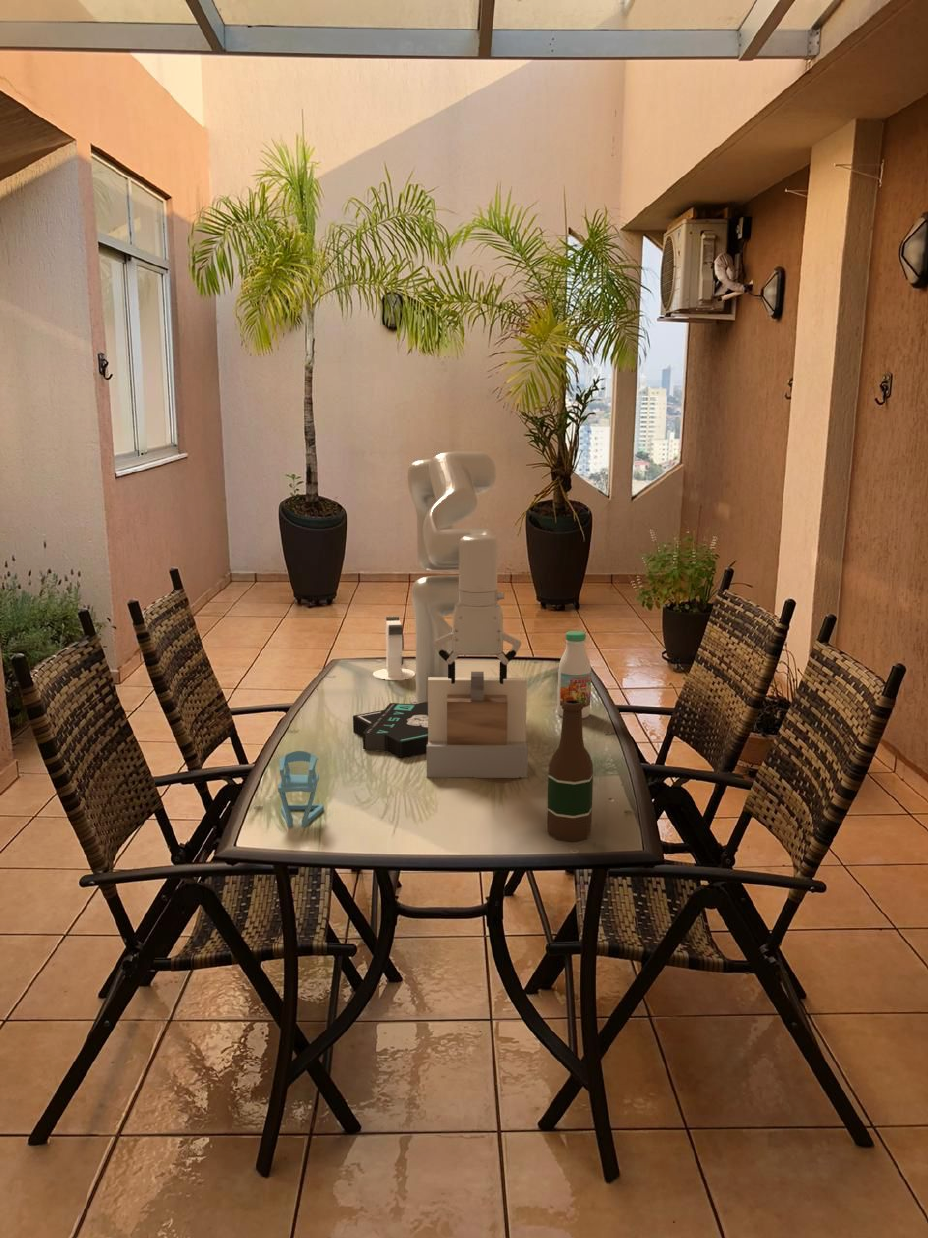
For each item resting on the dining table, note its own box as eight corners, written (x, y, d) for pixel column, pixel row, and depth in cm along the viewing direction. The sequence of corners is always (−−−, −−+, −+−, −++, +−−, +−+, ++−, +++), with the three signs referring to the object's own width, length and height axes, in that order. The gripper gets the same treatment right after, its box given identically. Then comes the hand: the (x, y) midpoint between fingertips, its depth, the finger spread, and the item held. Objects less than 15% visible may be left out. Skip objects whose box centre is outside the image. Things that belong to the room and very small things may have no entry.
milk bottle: (550, 714, 252) (552, 632, 248) (572, 708, 257) (574, 627, 253) (574, 722, 247) (576, 638, 242) (596, 715, 252) (599, 633, 247)
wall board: (428, 760, 221) (428, 677, 217) (525, 761, 221) (526, 677, 217) (426, 777, 212) (426, 690, 208) (527, 778, 211) (528, 691, 208)
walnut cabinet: (447, 741, 218) (447, 670, 214) (506, 741, 217) (507, 671, 214) (446, 749, 213) (446, 677, 209) (506, 750, 213) (507, 677, 209)
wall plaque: (332, 755, 225) (471, 766, 219) (331, 737, 224) (471, 747, 218) (372, 713, 254) (496, 721, 248) (372, 696, 253) (496, 704, 247)
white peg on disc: (417, 680, 280) (417, 625, 277) (374, 682, 279) (373, 626, 276) (413, 668, 292) (412, 615, 289) (371, 670, 290) (370, 616, 287)
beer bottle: (543, 825, 189) (546, 695, 184) (587, 823, 190) (591, 694, 184) (550, 843, 181) (553, 708, 176) (595, 842, 182) (599, 708, 177)
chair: (274, 828, 188) (272, 763, 185) (281, 809, 196) (279, 747, 193) (318, 827, 188) (316, 763, 185) (323, 808, 196) (322, 747, 193)
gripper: (521, 594, 212) (519, 677, 216) (434, 594, 212) (434, 676, 216) (522, 602, 205) (521, 687, 209) (433, 601, 205) (433, 687, 209)
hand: (477, 682), depth 212 cm, fingers open, 9 cm apart
